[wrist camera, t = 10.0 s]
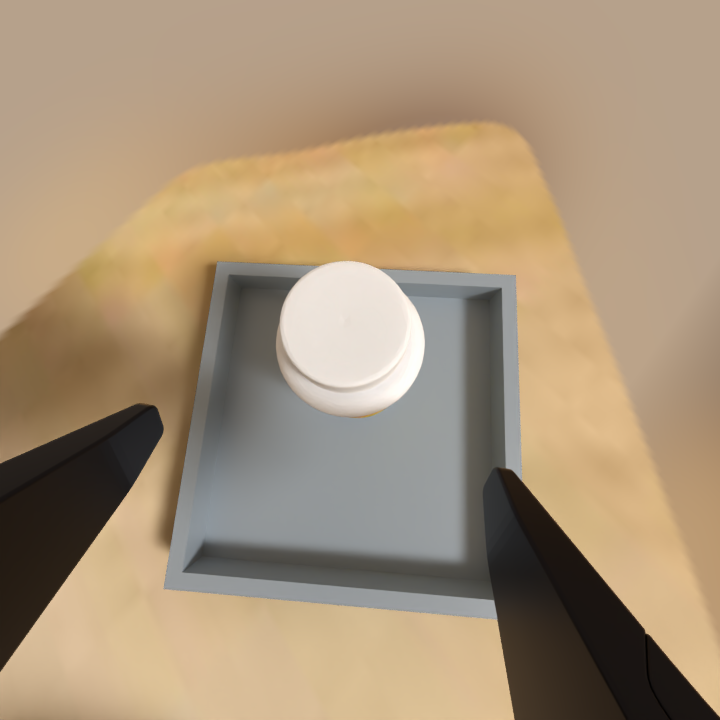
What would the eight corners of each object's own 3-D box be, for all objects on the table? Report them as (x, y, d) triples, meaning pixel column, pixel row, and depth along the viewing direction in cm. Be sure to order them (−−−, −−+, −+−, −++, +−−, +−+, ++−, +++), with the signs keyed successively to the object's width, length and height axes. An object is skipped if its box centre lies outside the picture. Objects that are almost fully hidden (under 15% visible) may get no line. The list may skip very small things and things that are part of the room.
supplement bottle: (293, 377, 19) (211, 328, 9) (353, 311, 20) (337, 201, 10) (361, 439, 18) (352, 459, 8) (421, 369, 19) (479, 310, 9)
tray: (504, 593, 17) (526, 622, 15) (191, 566, 18) (163, 589, 16) (498, 292, 21) (515, 275, 18) (234, 279, 21) (217, 261, 19)
